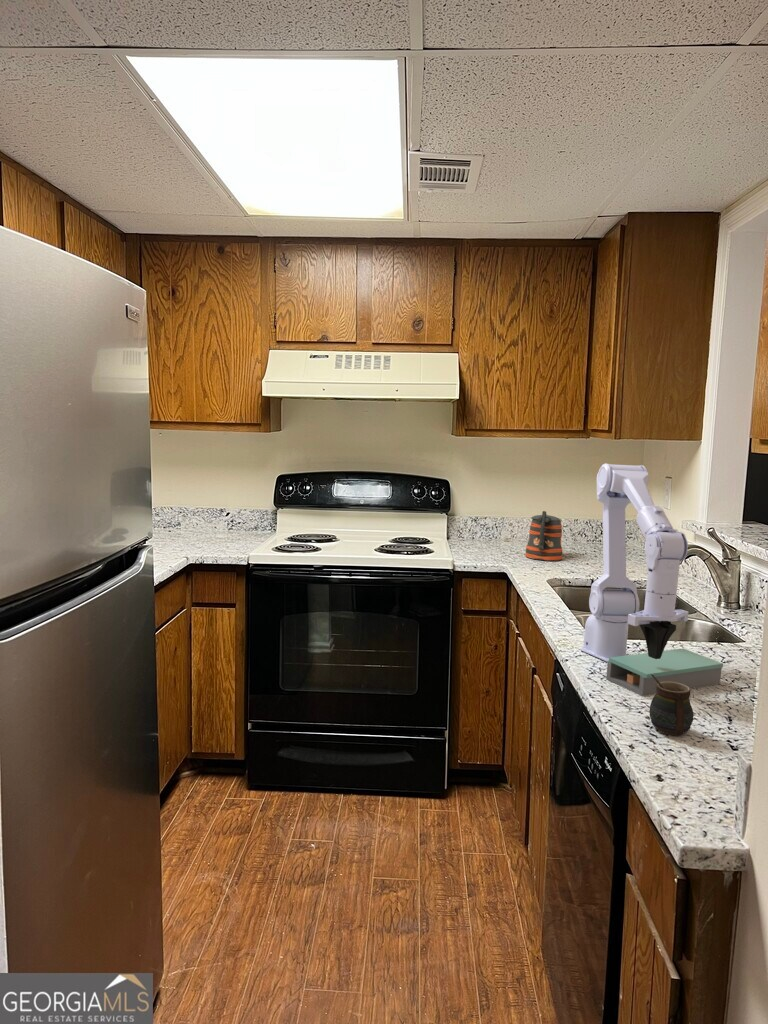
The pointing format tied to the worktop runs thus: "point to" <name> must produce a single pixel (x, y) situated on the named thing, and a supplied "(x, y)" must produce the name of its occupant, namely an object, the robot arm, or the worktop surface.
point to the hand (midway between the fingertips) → (654, 657)
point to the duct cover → (665, 663)
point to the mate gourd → (671, 708)
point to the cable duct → (660, 679)
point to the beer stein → (545, 538)
